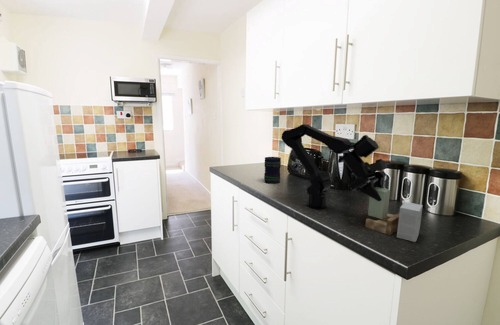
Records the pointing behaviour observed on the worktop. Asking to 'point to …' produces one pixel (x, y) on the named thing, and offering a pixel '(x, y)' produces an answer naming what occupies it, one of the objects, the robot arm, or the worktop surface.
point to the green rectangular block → (379, 204)
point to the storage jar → (272, 170)
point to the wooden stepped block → (384, 224)
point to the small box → (409, 221)
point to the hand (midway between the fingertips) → (383, 199)
